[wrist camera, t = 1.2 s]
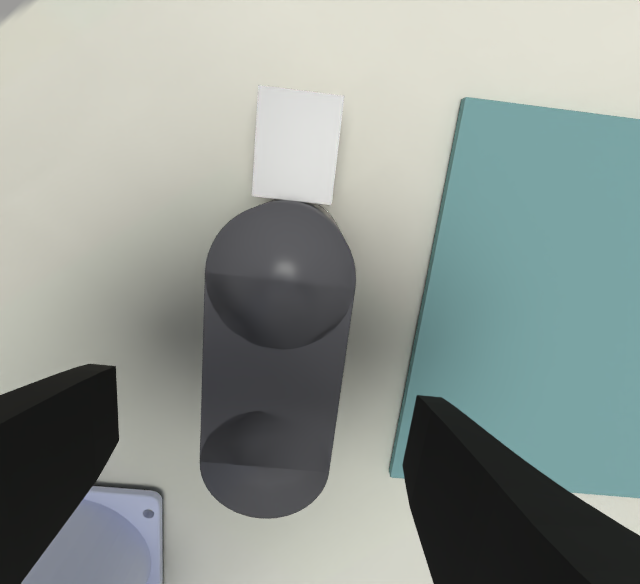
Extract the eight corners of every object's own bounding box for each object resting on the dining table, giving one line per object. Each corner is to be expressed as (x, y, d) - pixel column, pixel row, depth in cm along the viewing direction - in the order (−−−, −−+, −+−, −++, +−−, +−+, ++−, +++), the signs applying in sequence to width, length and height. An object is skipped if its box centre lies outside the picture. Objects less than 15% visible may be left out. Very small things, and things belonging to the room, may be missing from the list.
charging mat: (652, 493, 18) (659, 499, 18) (389, 470, 18) (390, 477, 17) (805, 143, 14) (818, 142, 13) (461, 99, 13) (465, 97, 13)
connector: (320, 427, 17) (321, 522, 12) (231, 419, 17) (198, 513, 12) (359, 118, 13) (384, 81, 9) (248, 104, 13) (210, 59, 8)
